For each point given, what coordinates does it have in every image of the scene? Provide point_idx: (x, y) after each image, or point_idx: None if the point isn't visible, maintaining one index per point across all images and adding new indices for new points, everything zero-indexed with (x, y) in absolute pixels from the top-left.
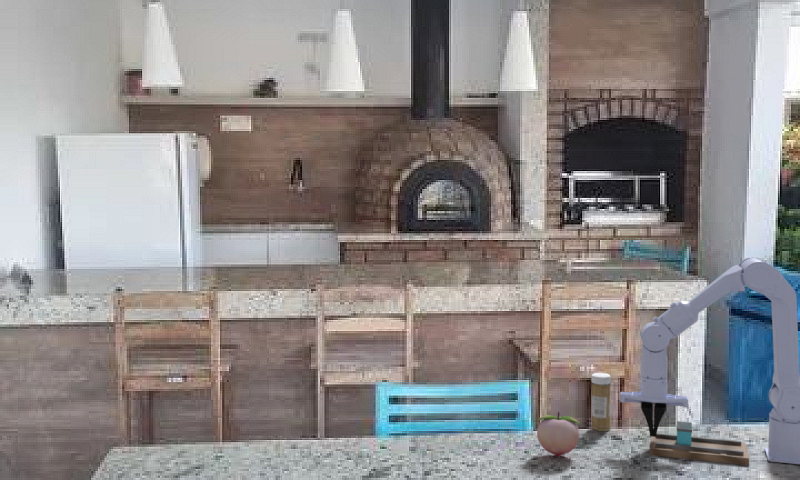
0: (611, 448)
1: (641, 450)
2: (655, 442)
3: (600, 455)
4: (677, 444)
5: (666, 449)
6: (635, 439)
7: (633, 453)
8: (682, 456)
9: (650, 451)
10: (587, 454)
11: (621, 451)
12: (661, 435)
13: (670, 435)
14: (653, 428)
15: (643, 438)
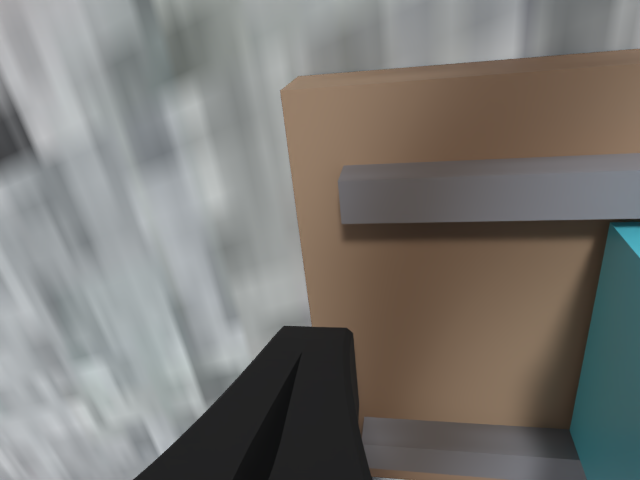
0: (69, 367)
1: None
2: None
3: (71, 472)
4: (580, 464)
5: (462, 476)
6: (142, 107)
7: None
8: None
9: None
10: (9, 470)
11: (146, 401)
12: (409, 215)
13: (530, 220)
14: (301, 359)
15: (203, 38)
